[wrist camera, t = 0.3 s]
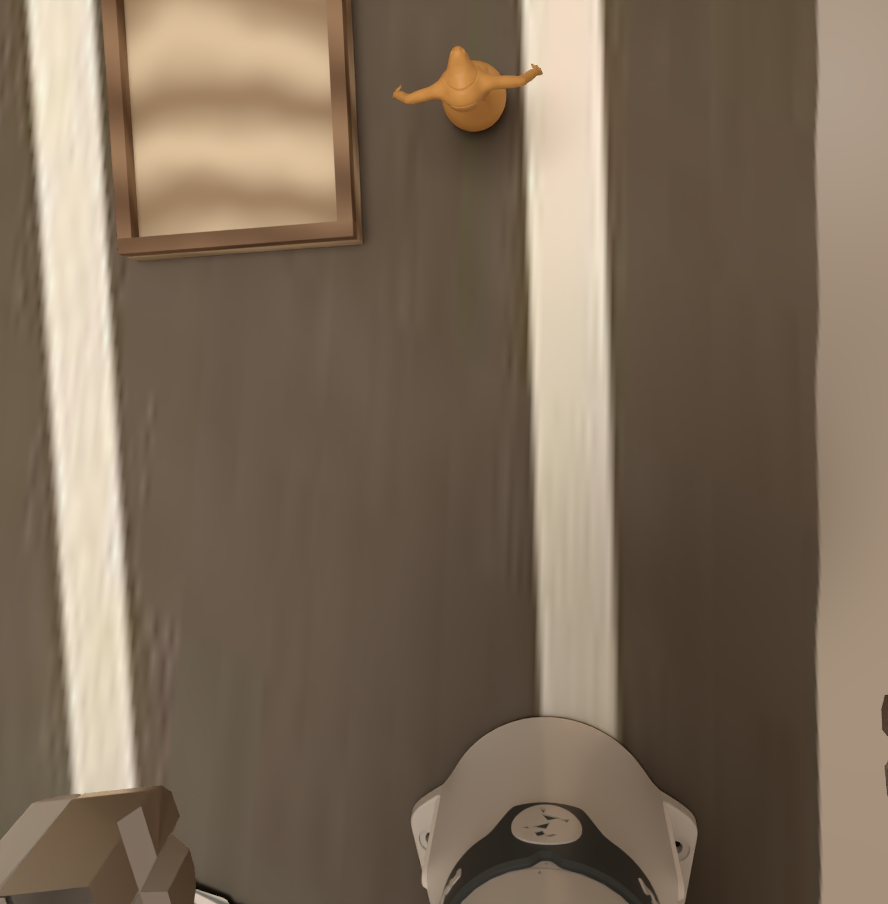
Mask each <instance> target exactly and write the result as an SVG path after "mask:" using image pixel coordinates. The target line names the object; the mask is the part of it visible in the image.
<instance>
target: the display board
mask: <svg viewBox="0 0 888 904" xmlns="http://www.w3.org/2000/svg"><path fill="white" fill-rule="evenodd" d="M101 3H102V18H103V33H104V48H105V63H106V78H107V93H108V108H109V123H110V138H111V153H112V168H113V183H114V198H115V213H116V228H117V243H118V254H119V255H122V256H125V257H128V258H131V259H134V260H137V261H146V260H160V259H173V258H186V257H200V256H213V255H226V254H240V253H253V252H266V251H280V250H293V249H306V248H320V247H333V246H346V245H360V244H363V234H362V213H361V193H360V172H359V151H358V131H357V110H356V89H355V68H354V48H353V27H352V6H351V0H101Z"/></svg>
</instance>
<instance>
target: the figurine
mask: <svg viewBox="0 0 888 904" xmlns="http://www.w3.org/2000/svg"><path fill="white" fill-rule="evenodd" d="M531 65H532V67H533V69H532V70H529V71H527V72H526V73H525V74H523V75H520V76H507V75H503V76H501V75H500V74H499V73H498V71H497V70H496V69H495V68H494V67H492V66H491V65H489V64H487V63H485V62H482V61H471V60H470V58H469V56H468V54H467V53H466V52H465V50H464V49H463V48H462V47H460V46H455V47H454V48H453V49H452V51H451V53H450V56H449V61H448V66H447V70H446V71H445V72H444V73H443V74H442V76H441V78H440V79H439V80H438V81H437V82H436V83H434V84H433V85H431V86H430V87H427V88H423V89H420V90H418V91H415V92H413V93H411V94H406V93H405V92H403V91H400V89H401V85H400V86H399V88H397V89H396V90H395V92H394V94H393V98H394V99H396V98H397V99H398V100H400V101H402V102H404V103H405V104H415V103H420V102H425V101H429V100H432V99H440V100H442V104H443V108H444V111H445V113H446V115H447V117H448V118H449V120H450V121H451V122H452V123H453V124H454V125H455V126H457V127H458V128H460V129H462V130H465V131H470V132H477V131H482V130H485V129H487V128H489V127H490V126H492V125H493V124H494V123H495V122H496V121H497V120H498V119H499V117H500V116H501V114H502V112H503V110H504V107H505V103H506V88H515V87H520V86H523V85H526V84H527V83H528V82H530V81H531V80H533V79H534V78H535V77H536V76H537V75H542V74H543V73H542V71H541V68H539V67H538V66H537V65H536V66H535V65H533V64H531Z"/></svg>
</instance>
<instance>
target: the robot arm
mask: <svg viewBox="0 0 888 904" xmlns="http://www.w3.org/2000/svg"><path fill="white" fill-rule="evenodd" d="M882 730H883V731H884V732H885V733H886V735H887V736H888V695H885V697H884V702H883V706H882ZM885 775H886V786H887V795H888V762H887V764H886V765H885ZM179 817H180V815H179V812H178V809H177V806H176V804H175V801H174V798H173V795H172V792H171V791H169V790H168V789H166V788H165V787H163V786H151V787H142V788H132V789H122V790H113V791H103V792H93V793H85V794H82V795H81V794H73V795H66V796H59V797H51V798H45V799H43V800H40V801H37V802H34V803H32V804H31V805H30V807H29V808H28V809H27V810H26V811H25V812H24V813H23V815H22V816H21V817H20V818H19V819H18V820H17V822H16V823H15V824H14V825H13V826H12V827H11V828H10V830H9V831H8V832H7V833H6V834H5V835H4V837H3V838H2V839H1V840H0V904H194V899H195V893H196V881H195V868H194V864H193V860H192V857H191V853H190V849H189V848H188V847H187V846H186V845H184V844H183V843H182V842H181V841H180V840H179V839H178V838H176V837H175V836H174V835H173V834H172V832H173V830H174V828H175V826H176V823H177V821H178V819H179ZM411 827H412V831H413V835H414V839H415V843H416V847H417V852H418V856H419V860H420V864H421V868H422V885H423V887H424V888H426V889H427V892H428V896H429V900H430V904H685V899H686V894H687V889H688V883H689V878H690V873H691V867H692V862H693V857H694V852H695V846H696V841H697V825H696V820H695V818H694V816H693V814H692V813H691V812H690V811H689V810H688V809H687V808H686V807H685V806H683V805H682V804H681V803H679V802H678V801H676V800H675V799H673V798H672V797H670V796H668V795H667V794H665V793H663V792H662V791H660V790H659V789H658V788H657V787H656V786H655V785H654V783H653V782H652V781H651V780H650V778H649V777H648V776H647V774H646V773H645V771H644V770H643V769H642V767H641V766H640V764H639V763H638V762H637V761H636V759H635V758H634V757H633V756H632V755H631V754H630V753H629V752H628V751H627V750H626V749H625V748H624V747H623V746H622V745H620V744H619V743H618V742H617V741H615V740H614V739H612V738H611V737H610V736H608V735H606V734H605V733H603V732H601V731H599V730H597V729H595V728H593V727H591V726H588V725H586V724H583V723H580V722H577V721H573V720H568V719H563V718H555V717H535V718H527V719H522V720H518V721H514V722H511V723H508V724H505V725H503V726H500V727H498V728H496V729H494V730H493V731H491V732H489V733H488V734H486V735H485V736H483V737H482V738H480V739H479V740H478V741H477V742H476V743H475V744H474V745H473V746H472V747H470V748H469V750H468V751H467V752H466V753H465V754H464V755H463V757H462V758H461V760H460V761H459V763H458V764H457V766H456V767H455V769H454V770H453V772H452V774H451V775H450V776H449V778H448V779H447V780H446V781H445V782H444V784H442V785H441V786H439V787H437V788H436V789H434V790H433V791H431V792H430V793H428V794H427V795H425V796H424V797H422V798H421V799H420V800H419V801H418V802H417V803H416V804H415V806H414V807H413V810H412V816H411ZM429 832H430V833H429ZM427 833H429V836H428V834H427ZM675 841H678V842H680V843H681V844H680V845H679V846H678V847H676V844H675Z"/></svg>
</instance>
